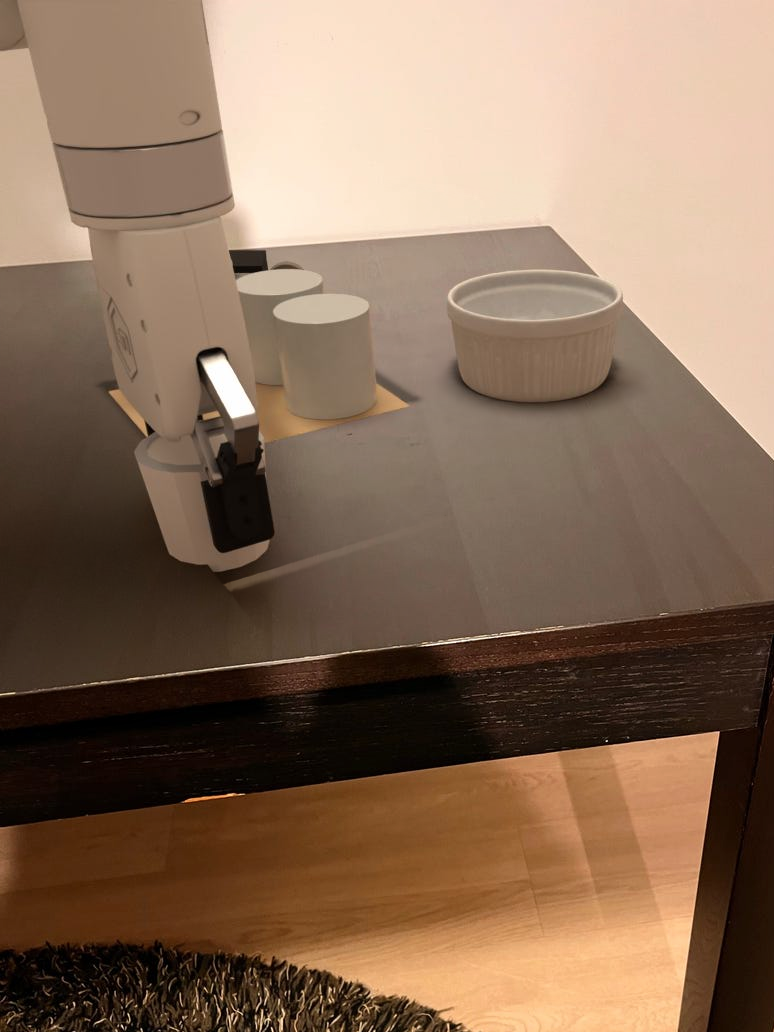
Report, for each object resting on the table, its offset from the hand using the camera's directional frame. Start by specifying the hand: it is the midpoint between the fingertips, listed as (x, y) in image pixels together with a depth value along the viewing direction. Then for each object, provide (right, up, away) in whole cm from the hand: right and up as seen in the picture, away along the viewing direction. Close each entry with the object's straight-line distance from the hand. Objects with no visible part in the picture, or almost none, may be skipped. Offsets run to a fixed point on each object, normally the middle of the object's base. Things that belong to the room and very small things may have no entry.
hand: (214, 508), depth 57 cm
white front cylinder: (+4, +10, +19) cm, 22 cm away
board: (-2, +10, +20) cm, 23 cm away
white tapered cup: (0, -3, +2) cm, 3 cm away
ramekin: (+19, +13, +23) cm, 32 cm away
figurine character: (-8, +20, +34) cm, 40 cm away
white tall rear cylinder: (0, +14, +24) cm, 28 cm away
